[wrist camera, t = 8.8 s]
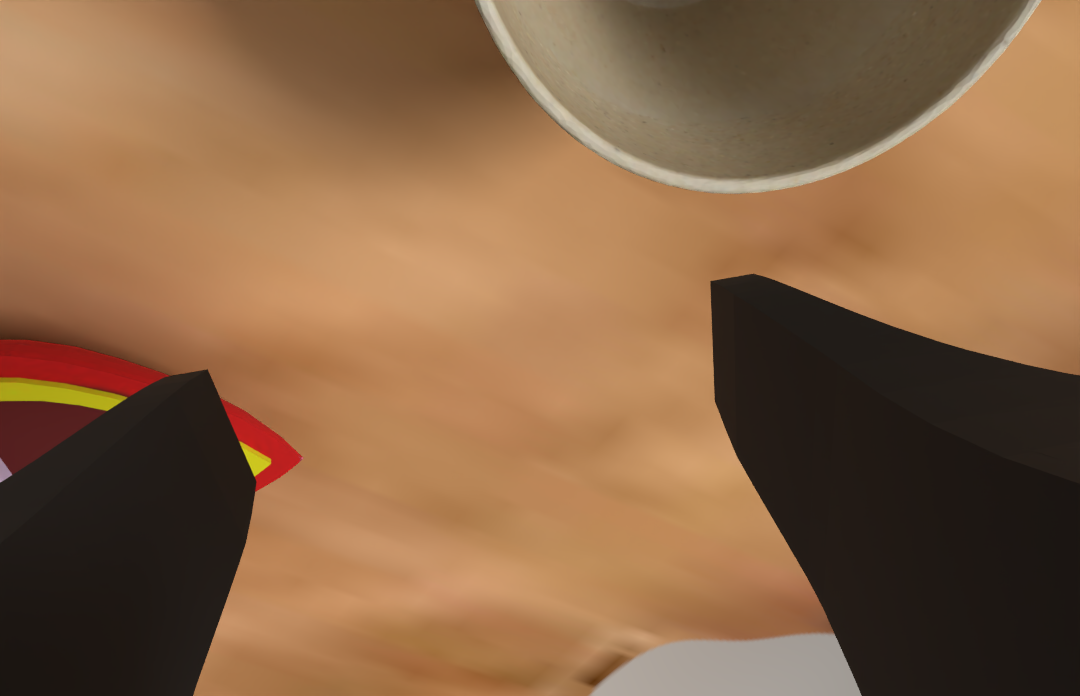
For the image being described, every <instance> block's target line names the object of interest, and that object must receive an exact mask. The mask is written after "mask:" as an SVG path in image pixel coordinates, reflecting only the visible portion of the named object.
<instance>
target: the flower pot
mask: <svg viewBox="0 0 1080 696" xmlns="http://www.w3.org/2000/svg"><path fill="white" fill-rule="evenodd" d="M474 1H475V3H476V6H477V8H478V10H479V12H480V14H481V17H482V19H483V21H484V23H485V25H486V27H487V29H488V31H489V33H490V35H491V37H492V39H493V41H494V42H495V44H496V46H497V48H498V49H499V51H500V53H501V54H502V56H503V58H504V59H505V61H506V62H507V64H508V65H509V67H510V68H511V70H512V71H513V73H514V74H515V75H516V77H517V78H518V79H519V81H520V83H521V84H522V85H523V87H524V88H525V89H526V91H527V92H528V93H529V94H530V96H531V97H532V98H533V99H534V100H535V102H536V103H537V104H538V105H539V106H540V107H541V108H542V109H543V110H544V111H545V112H546V113H547V114H548V115H549V116H550V117H551V118H552V119H553V120H554V121H555V122H556V123H557V124H558V125H559V126H560V127H561V128H562V129H564V130H565V131H566V132H567V133H568V134H570V135H571V136H572V137H573V138H574V139H576V140H577V141H578V142H580V143H581V144H583V145H584V146H585V147H587V148H589V149H590V150H592V151H593V152H595V153H596V154H598V155H599V156H601V157H602V158H604V159H606V160H607V161H609V162H611V163H613V164H615V165H617V166H619V167H620V168H623V169H625V170H627V171H629V172H631V173H634V174H636V175H639V176H641V177H644V178H647V179H650V180H652V181H656V182H659V183H662V184H665V185H669V186H674V187H678V188H683V189H687V190H694V191H701V192H708V193H722V194H742V193H757V192H767V191H773V190H781V189H786V188H791V187H797V186H800V185H804V184H808V183H812V182H815V181H818V180H822V179H825V178H828V177H831V176H833V175H836V174H838V173H841V172H844V171H846V170H848V169H851V168H853V167H856V166H858V165H860V164H862V163H864V162H866V161H868V160H870V159H872V158H874V157H876V156H878V155H880V154H882V153H883V152H885V151H887V150H889V149H891V148H892V147H894V146H895V145H897V144H899V143H900V142H902V141H903V140H905V139H906V138H908V137H909V136H911V135H913V134H915V133H916V132H917V131H919V130H920V129H922V128H923V127H924V126H926V125H927V124H928V123H930V122H931V121H932V120H933V119H935V118H936V117H937V116H939V115H940V114H941V113H943V112H944V111H945V110H946V109H948V108H949V107H950V106H951V105H952V104H953V103H955V102H956V101H957V100H958V99H959V98H960V97H961V96H962V95H963V94H964V93H965V92H966V91H967V90H968V89H969V88H970V87H971V86H972V85H973V84H974V83H975V82H976V81H977V80H978V79H979V78H980V77H981V76H982V75H983V74H984V73H985V72H986V71H987V70H988V69H989V68H990V66H991V65H992V64H993V63H994V62H995V61H996V60H997V59H998V58H999V56H1000V55H1001V54H1002V53H1003V52H1004V51H1005V50H1006V48H1007V47H1008V46H1009V44H1010V43H1011V41H1012V40H1013V39H1014V38H1015V37H1016V35H1017V34H1018V33H1019V31H1020V30H1021V29H1022V27H1023V26H1024V24H1025V23H1026V22H1027V20H1028V19H1029V18H1030V16H1031V15H1032V13H1033V12H1034V10H1035V9H1036V8H1037V6H1038V5H1039V3H1040V2H1041V0H474Z"/></svg>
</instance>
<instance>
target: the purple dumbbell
mask: <svg viewBox="0 0 1080 696" xmlns="http://www.w3.org/2000/svg"><path fill="white" fill-rule="evenodd" d="M168 376H169V375H166V374H164V373H161V372H158V371H155V370H152V369H149V368H146V367H143V366H140V365H137V364H135V363H132V362H129V361H126V360H123V359H120V358H116V357H112V356H109V355H105V354H101V353H98V352H94V351H90V350H86V349H83V348H79V347H75V346H69V345H61V344H54V343H47V342H40V341H33V340H0V482H2V481H4V480H5V479H7V478H8V477H10V476H11V475H13V474H14V473H16V472H17V471H19V470H21V469H22V468H24V467H25V466H27V465H28V464H30V463H31V462H33V461H35V460H36V459H38V458H39V457H40V456H42V455H43V454H45V453H46V452H48V451H49V450H51V449H52V448H54V447H55V446H57V445H58V444H60V443H61V442H63V441H64V440H65V439H67V438H68V437H70V436H71V435H73V434H74V433H76V432H77V431H79V430H80V429H82V428H83V427H85V426H86V425H87V424H89V423H90V422H92V421H93V420H95V419H96V418H98V417H99V416H101V415H102V414H104V413H105V412H107V411H108V410H110V409H111V408H113V407H114V406H116V405H117V404H119V403H120V402H122V401H123V400H125V399H126V398H128V397H130V396H131V395H133V394H134V393H136V392H138V391H139V390H141V389H143V388H144V387H146V386H148V385H150V384H152V383H154V382H156V381H158V380H160V379H162V378H164V377H168ZM220 399H221V398H220ZM221 401H222V404H223V406H224V408H225V411H226V413H227V415H228V417H229V420H230V422H231V424H232V427H233V429H234V431H235V433H236V436H237V438H238V440H239V443H240V445H241V447H242V449H243V452H244V454H245V456H246V458H247V461H248V463H249V465H250V468H251V470H252V472H253V474H254V477H255V479H256V481H257V483H256V490H255V492H256V491H257V490H259V489H261V488H263V487H264V486H266V485H268V484H269V483H271V482H273V481H275V480H276V479H278V478H280V477H281V476H282V475H284V474H285V473H286V472H288V471H289V470H290V469H292V468H293V467H294V466H295V465H297V464H298V463H299V462H300V461H301V460H302V459H303V457H302V456H301V455H300V454H299V453H298V452H297V451H296V450H295V449H293V448H292V447H291V446H290V445H289V444H288V443H287V442H286V441H285V440H284V439H283V438H282V437H281V436H279V435H278V434H276V433H275V432H274V431H272V430H271V429H269V428H268V427H267V426H265V425H264V424H262V423H261V422H260V421H258V420H257V419H256V418H254V417H253V416H251V415H250V414H249V413H247V412H246V411H244V410H242V409H240V408H238V407H236V406H235V405H233V404H231V403H229V402H227V401H225V400H223V399H221Z"/></svg>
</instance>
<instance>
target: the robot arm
mask: <svg viewBox="0 0 1080 696" xmlns="http://www.w3.org/2000/svg"><path fill="white" fill-rule="evenodd" d="M711 308H712V335H713V362H714V389H715V402H716V405H717V408H718V410H719V413H720V415H721V418H722V421H723V423H724V426H725V428H726V431H727V433H728V436H729V438H730V441H731V443H732V445H733V448H734V450H735V453H736V455H737V457H738V459H739V461H740V462H741V464H742V466H743V468H744V470H745V471H746V473H747V475H748V477H749V478H750V480H751V482H752V484H753V485H754V487H755V489H756V491H757V492H758V494H759V496H760V498H761V499H762V501H763V503H764V504H765V506H766V508H767V510H768V511H769V513H770V515H771V516H772V518H773V520H774V521H775V523H776V525H777V527H778V528H779V530H780V532H781V533H782V535H783V537H784V539H785V540H786V542H787V544H788V545H789V547H790V549H791V551H792V552H793V554H794V556H795V557H796V559H797V561H798V563H799V564H800V566H801V568H802V569H803V571H804V573H805V575H806V576H807V578H808V580H809V582H810V584H811V586H812V588H813V589H814V591H815V593H816V595H817V597H818V599H819V601H820V603H821V605H822V607H823V609H824V611H825V613H826V615H827V618H828V620H829V622H830V624H831V627H832V629H833V631H834V633H835V636H836V638H837V640H838V642H839V644H840V647H841V649H842V651H843V653H844V656H845V658H846V660H847V662H848V665H849V667H850V669H851V671H852V674H853V676H854V678H855V681H856V683H857V685H858V687H859V690H860V693H861V695H862V696H1080V376H1079V375H1073V374H1068V373H1062V372H1057V371H1053V370H1048V369H1043V368H1038V367H1034V366H1029V365H1025V364H1021V363H1017V362H1013V361H1009V360H1005V359H1001V358H997V357H993V356H989V355H985V354H981V353H977V352H973V351H969V350H965V349H962V348H958V347H955V346H952V345H948V344H945V343H941V342H938V341H935V340H932V339H929V338H926V337H923V336H920V335H917V334H914V333H911V332H908V331H905V330H902V329H899V328H896V327H893V326H890V325H888V324H885V323H882V322H879V321H877V320H874V319H871V318H868V317H866V316H863V315H861V314H858V313H855V312H853V311H850V310H848V309H845V308H843V307H840V306H838V305H835V304H833V303H830V302H828V301H825V300H823V299H820V298H818V297H815V296H813V295H810V294H808V293H806V292H803V291H801V290H798V289H796V288H793V287H791V286H788V285H786V284H783V283H780V282H778V281H775V280H772V279H769V278H766V277H763V276H760V275H756V274H749V275H744V276H738V277H732V278H726V279H721V280H715V281H711ZM256 483H257V481H256V479H255V477H254V474H253V472H252V470H251V468H250V465H249V463H248V461H247V458H246V456H245V454H244V452H243V449H242V447H241V445H240V443H239V440H238V438H237V436H236V433H235V431H234V429H233V427H232V424H231V422H230V420H229V417H228V415H227V413H226V411H225V408H224V406H223V404H222V401H221V399H220V397H219V395H218V392H217V390H216V388H215V385H214V383H213V381H212V379H211V376H210V374H209V372H208V370H202V371H196V372H191V373H185V374H179V375H174V376H168V377H164V378H162V379H160V380H158V381H156V382H154V383H152V384H150V385H148V386H146V387H144V388H143V389H141V390H139V391H138V392H136V393H134V394H133V395H131V396H130V397H128V398H126V399H125V400H123V401H122V402H120V403H119V404H117V405H116V406H114V407H113V408H111V409H110V410H108V411H107V412H105V413H104V414H102V415H101V416H99V417H98V418H96V419H95V420H93V421H92V422H90V423H89V424H87V425H86V426H85V427H83V428H82V429H80V430H79V431H77V432H76V433H74V434H73V435H71V436H70V437H68V438H67V439H65V440H64V441H63V442H61V443H60V444H58V445H57V446H55V447H54V448H52V449H51V450H49V451H48V452H46V453H45V454H43V455H42V456H40V457H39V458H38V459H36V460H35V461H33V462H31V463H30V464H28V465H27V466H25V467H24V468H22V469H21V470H19V471H17V472H16V473H14V474H13V475H11V476H10V477H8V478H7V479H5V480H4V481H2V482H0V696H193V694H194V691H195V687H196V685H197V682H198V679H199V676H200V673H201V670H202V668H203V665H204V662H205V659H206V656H207V653H208V651H209V648H210V645H211V642H212V639H213V637H214V634H215V631H216V628H217V625H218V622H219V620H220V617H221V614H222V611H223V608H224V605H225V603H226V600H227V597H228V594H229V591H230V588H231V585H232V583H233V580H234V577H235V574H236V571H237V568H238V565H239V562H240V559H241V556H242V553H243V550H244V547H245V544H246V539H247V534H248V529H249V525H250V520H251V515H252V508H253V502H254V496H255V490H256Z"/></svg>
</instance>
